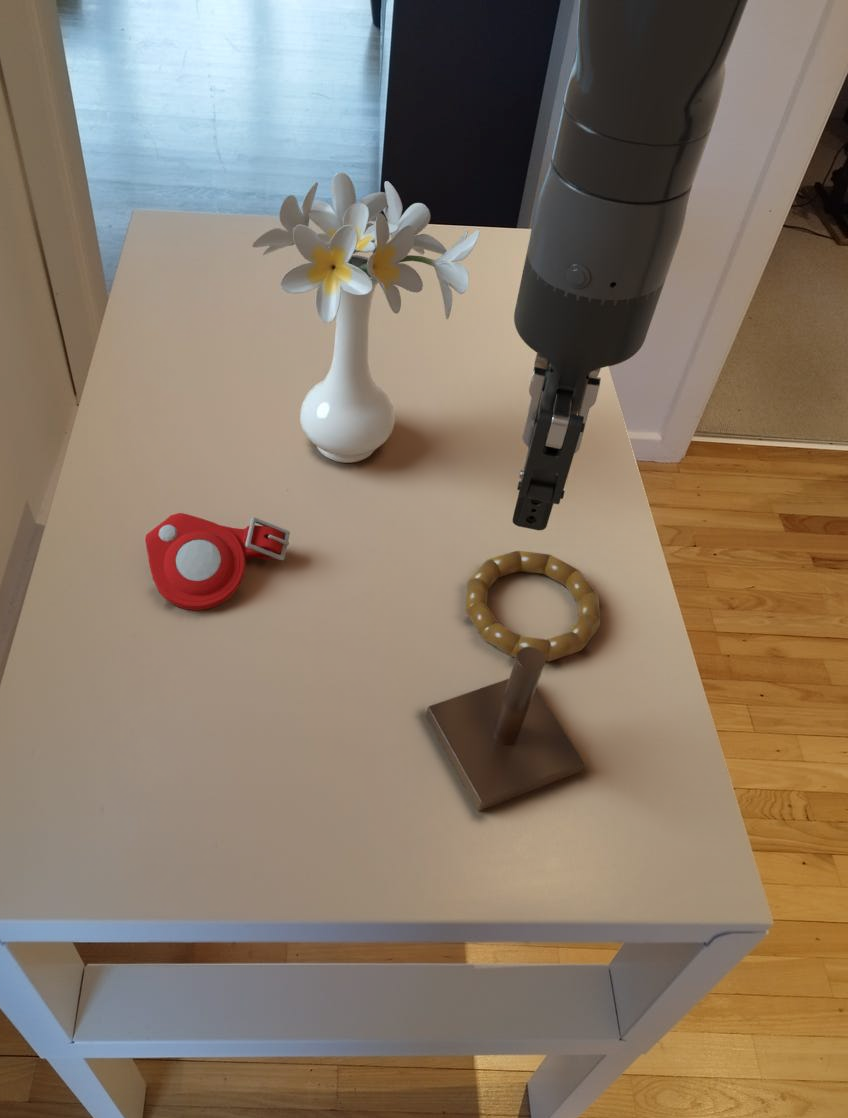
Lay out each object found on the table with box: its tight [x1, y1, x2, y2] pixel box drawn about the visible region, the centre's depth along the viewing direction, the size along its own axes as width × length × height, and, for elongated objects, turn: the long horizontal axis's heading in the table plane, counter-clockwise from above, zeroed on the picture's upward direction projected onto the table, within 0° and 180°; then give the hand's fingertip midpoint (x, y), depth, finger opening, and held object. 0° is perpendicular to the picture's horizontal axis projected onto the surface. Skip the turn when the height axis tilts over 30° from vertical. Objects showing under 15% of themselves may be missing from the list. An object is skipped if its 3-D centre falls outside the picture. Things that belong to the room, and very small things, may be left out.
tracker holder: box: [144, 512, 291, 611], centre depth 80 cm, size 12×4×10 cm
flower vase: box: [252, 171, 481, 464], centre depth 82 cm, size 13×18×25 cm
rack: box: [425, 647, 585, 812], centre depth 67 cm, size 9×9×12 cm
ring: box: [465, 550, 601, 662], centre depth 79 cm, size 12×12×2 cm
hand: (536, 480), depth 61 cm, fingers open, 8 cm apart
